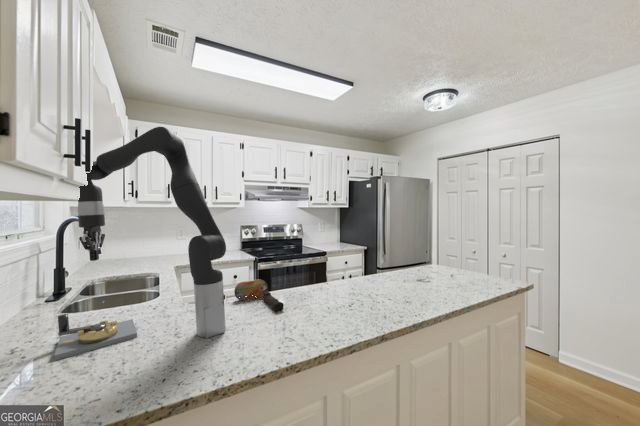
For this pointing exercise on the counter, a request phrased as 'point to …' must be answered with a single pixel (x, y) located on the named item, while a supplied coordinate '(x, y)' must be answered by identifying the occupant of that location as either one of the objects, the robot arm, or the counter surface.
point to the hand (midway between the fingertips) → (94, 260)
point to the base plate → (72, 347)
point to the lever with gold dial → (88, 330)
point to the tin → (250, 289)
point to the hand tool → (273, 302)
